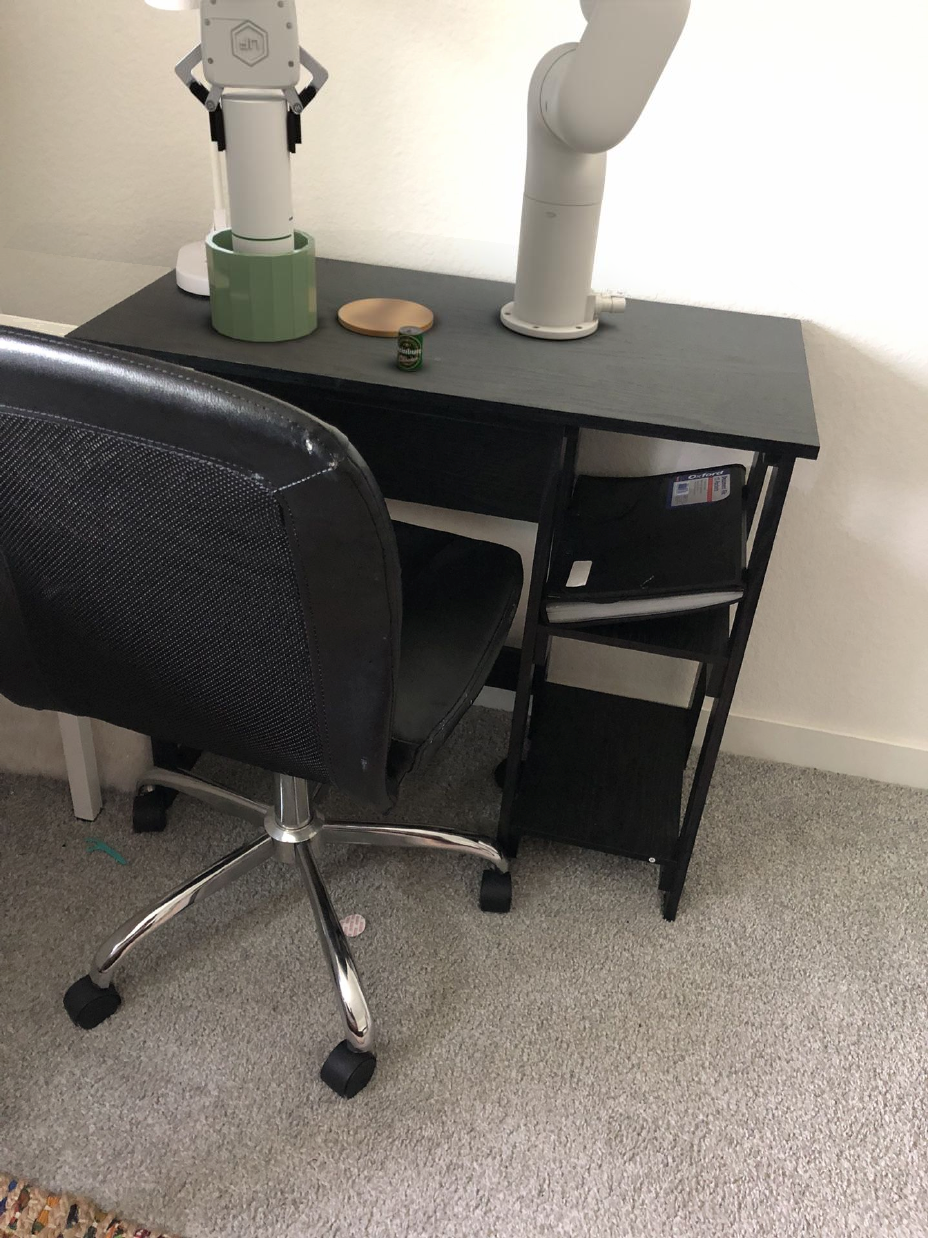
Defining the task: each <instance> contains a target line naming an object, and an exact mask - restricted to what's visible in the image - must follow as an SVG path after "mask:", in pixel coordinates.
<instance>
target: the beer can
mask: <svg viewBox="0 0 928 1238" xmlns="http://www.w3.org/2000/svg"><path fill="white" fill-rule="evenodd" d="M423 333H424V332H423V331H422V329H421V328H419V327H415V326H404V327H401V328H400V329H399V333H398V337H397V353H396V355H397V357H396V358H397V359H396V360H397V361H396V363H397V365H396V366H397V367H398V368H399V369H400V370H403V371H405V372H415V371H419V370H420V369H421V368H422V367H423V350H424V348H423V347H424V334H423Z"/></svg>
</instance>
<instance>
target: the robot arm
mask: <svg viewBox="0 0 928 1238" xmlns="http://www.w3.org/2000/svg"><path fill="white" fill-rule="evenodd" d="M691 3H692V0H579V6H580V11H581V13H582V15H583V18H584V20H585V21H586V22H587V24H586V26H585V28H584V31H583V33H582V35H581V37H580V39H579V41H569V42H564V43H561V44H559V45H556V46H554V47H552V48H551V49H550V50H548V51H547V52H546V53H545V54H544V55H543V56H542V57H541V59H539V61H538V62H537V64H536V65H535V67H534V70H533V72H532V74H531V76H530V81H529V85H528V89H527V90H528V91H527V101H526V121H527V122H526V134H527V135H526V138H527V139H526V160H525V162H526V163H525V172H524V184H523V185H524V186H523V193H522V206H521V215H520V228H519V239H518V250H517V262H516V273H515V283H514V295H513V301H510V302H507V303H506V304H505V305H504V306H502V308H501V309H500V316H499V318H500V321H501V323H502V324H503V325H504V326H505V327H506V328H508V329H509V330H511V331H514V332H516V333H518V334H522V335H525V336H528V337H533V338H537V339H546V340H572V339H573V340H574V339H580V338H584V337H587V336H590V335H591V334H593V333H595V331H596V330H597V329H598V327H599V317H598V316H600V315H601V314H602V313H609V314H624V313H625V311H626V306H627V302H626V298H625V297H618V296H617V297H615V296H614V297H613V296H612V294H611V293H610V292H600V293H595V291H594V290H593V288H592V280H593V279H592V278H593V274H594V273H593V272H594V265H595V257H596V250H597V241H598V236H599V234H598V233H599V226H600V220H601V213H602V204H603V199H604V192H605V184H606V174H607V162H608V161H607V157H608V151H610V150H612V149H614V148H616V147H617V146H618V145H620V144H621V143H622V142H623V141H624V140H625V139H626V138H627V136H628V135H629V134H630V133H631V131H632V130H633V129H634V127H635V125H636V124H637V122H638V121H639V119H640V117H641V115H642V113H643V112H644V110H645V107H646V106H647V104H648V103H649V100H650V98H651V96H652V94H653V92H654V90H655V88H656V86H657V84H658V82H659V80H660V79H661V76H662V74H663V72H664V70H665V68H666V66H667V64H668V62H669V60H670V58H671V56H672V53H673V52H674V50H675V48H676V46H677V44H678V42H679V40H680V37H681V35H682V33H683V31H684V29H685V26H686V23H687V20H688V18H689V17H688V16H689V13H690V8H691ZM296 8H297V7H296V0H199V34H200V42H199V43H198V44H197V45H196V46H195V47H193V49H191V50H190V51H189V52H188V53H187V54H186V55H185V56H184V57H183V58H182V59H181V60H180V61H179V62H177V64H176V65H175V66H174V73H175V74H176V76H177V77H178V78H179V79H180V80H181V82H182V83H183V84H184V85H185V86H186V87H187V89H188V90H189V92H190V93H191V94H192V95H193V96H194V97H195V98H196V99H197V100H198V101H199V102H200V103H201V104H202V105H203V107H205V110H206V111H208V121H209V132H210V141H211V142H213V143H214V142H215V143H217V144H216V145H217V152H222V153H223V152H224V151H225V143H224V131H223V118H222V107H221V95H222V94H224V90H225V89H226V88H229V89H252V90H253V89H254V90H255V89H257V90H280V91H281V92H282V95H284V96H285V98H286V99H287V102H288V135H289V152H290V154H297V149H296V147H297V146H296V145H303V141H302V139H303V138H302V119H301V116H302V115H301V114H302V113H303V111H304V110H305V109H306V108H307V106H308V105H309V104H310V103H311V102H312V101H313V100H314V99H315V98H316V96H317V94H318V93H319V91H321V89H322V88H323V87H324V85H325V83H327V81H328V79H329V72H328V70H327V69H326V68H325V67H324V66H323V65H322V64H321V63H319V61H318V60H316V59H315V58H314V57H313V56H312V55H311V54H310V53H309V52H308V51H306V49H305V48H303V46H301V45H300V39H299V28H298V27H299V26H298V17H297V9H296ZM200 62H201V65H202V66H201V67H202V72H203V77H204V80H205V81H206V82H207V83H208V84H210V85H211V86H210V90H209V89H208V88H207V87H206V86H205V85H204V84H203V83H202V82H201V81H200V80H199V79H198V78H197V77H196V76H195V74H194V72H193V69H194V68H195V67H197V65H198V64H199V63H200ZM301 65H302V66H303V67H304V68H305V69H306V70H307V71H308V72H310V74H311V75H312V77H311V79H310V80H309V82H308V83H307V84H306V86H304V88H303V89H302V90H300V92H298V90H297V89H296V87H297V86H298V84H299V82H300V79H301Z"/></svg>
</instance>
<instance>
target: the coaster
mask: <svg viewBox="0 0 928 1238" xmlns="http://www.w3.org/2000/svg"><path fill="white" fill-rule="evenodd" d="M337 315H338V316H337V317H338V322H339V324H340V325H341V326H342V327H344V328H345V329H347V330H349V331H351V332H354V333H357V334H361V335H364V336H370V337H376V338H377V337H379V338H398V333H399V329H400V328H401V327H404V326H415V327H419V328H421V329H422V331H423V332H422V333H425V332H427V331H428V330H430V329H431V328H432V326H433V325H434V320H435V315H434V314H433V312H432V311H431V310H430V309H429V308H427V307H426V306H424V305H422V304H419V303H416V302H413V301H409V300H403V299H397V298H385V297H383V298H381V297H380V298H379V297H377V298H375V297H374V298H365V299H359V300H354V301H351V302H349V303H346V304H343V306H342V307H340V309H339V310H338V314H337Z"/></svg>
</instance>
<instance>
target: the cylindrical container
mask: <svg viewBox="0 0 928 1238" xmlns="http://www.w3.org/2000/svg"><path fill="white" fill-rule="evenodd" d="M220 106H221V109H222V118H223V131H224V143H225V150H224V152H225V153H224V155H225V157H224V158H225V168H226V180H227V181H226V182H227V192H228V193H227V195H228V203H229V205H228V206H229V217H230V218H229V219H230V227H231V230H232V243H233V251H234V252H241V253H248V254H277V253H286V252H291V251H294V230H293V229H294V216H293V215H294V211H293V209H294V208H293V191H292V189H293V188H292V171H291V169H292V168H291V167H292V166H291V152H289V135H288V111H289V103H288V101H287V99H286V98H285V96H284V94H281V93H274V92H268V91H251V90H250V91H249V90H248V91H231V92H226V93H222V95H221V97H220Z"/></svg>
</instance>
